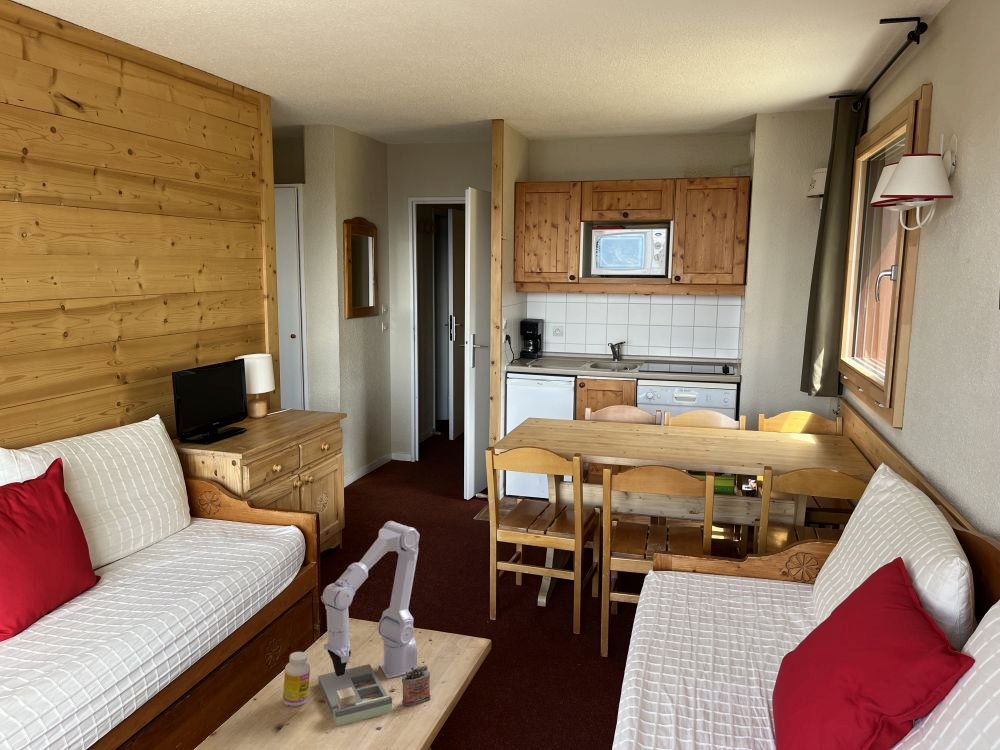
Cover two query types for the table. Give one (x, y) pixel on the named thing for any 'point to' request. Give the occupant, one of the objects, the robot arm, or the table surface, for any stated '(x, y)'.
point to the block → (346, 698)
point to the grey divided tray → (361, 709)
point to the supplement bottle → (296, 679)
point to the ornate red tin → (416, 686)
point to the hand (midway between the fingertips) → (340, 674)
